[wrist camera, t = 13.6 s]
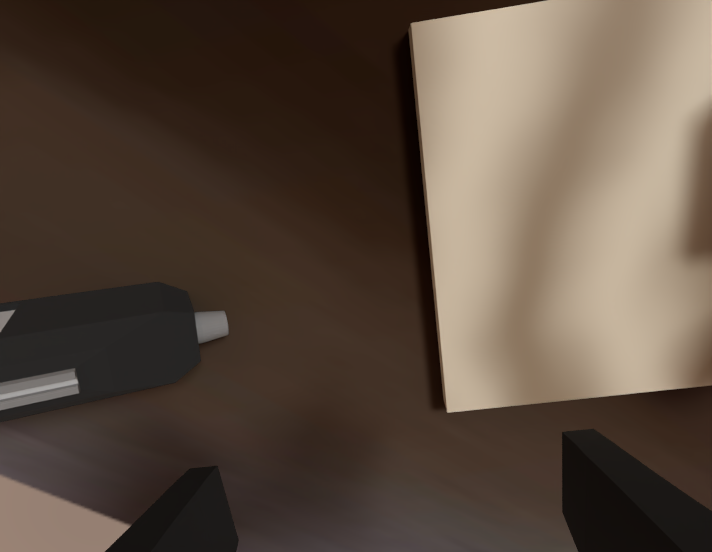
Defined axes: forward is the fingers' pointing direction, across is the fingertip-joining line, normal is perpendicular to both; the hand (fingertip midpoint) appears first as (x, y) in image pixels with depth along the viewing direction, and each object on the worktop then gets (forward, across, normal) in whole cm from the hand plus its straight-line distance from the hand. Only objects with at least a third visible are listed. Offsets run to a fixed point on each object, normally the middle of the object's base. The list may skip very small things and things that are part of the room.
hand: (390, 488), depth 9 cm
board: (+10, -14, -3) cm, 18 cm away
